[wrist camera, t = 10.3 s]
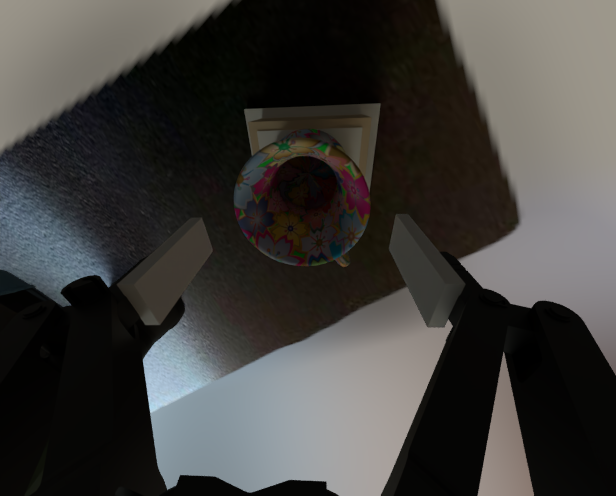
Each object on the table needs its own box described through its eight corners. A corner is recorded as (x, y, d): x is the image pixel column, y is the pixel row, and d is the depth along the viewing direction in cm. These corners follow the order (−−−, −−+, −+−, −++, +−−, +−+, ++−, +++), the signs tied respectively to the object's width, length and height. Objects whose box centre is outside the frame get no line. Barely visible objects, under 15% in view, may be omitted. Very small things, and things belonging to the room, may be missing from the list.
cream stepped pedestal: (264, 212, 35) (251, 236, 29) (246, 108, 27) (225, 111, 21) (365, 211, 34) (374, 235, 28) (378, 103, 26) (395, 103, 20)
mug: (248, 158, 23) (203, 192, 14) (323, 100, 20) (325, 99, 11) (309, 239, 28) (304, 301, 20) (376, 204, 25) (405, 260, 16)
